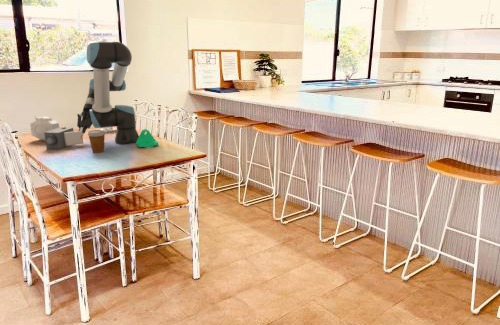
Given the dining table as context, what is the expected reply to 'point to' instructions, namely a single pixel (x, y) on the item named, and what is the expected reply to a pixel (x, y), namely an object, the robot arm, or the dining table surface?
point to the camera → (42, 126)
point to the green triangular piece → (146, 139)
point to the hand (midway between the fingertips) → (79, 137)
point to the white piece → (108, 129)
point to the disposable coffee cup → (97, 140)
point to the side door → (73, 138)
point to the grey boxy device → (56, 138)
